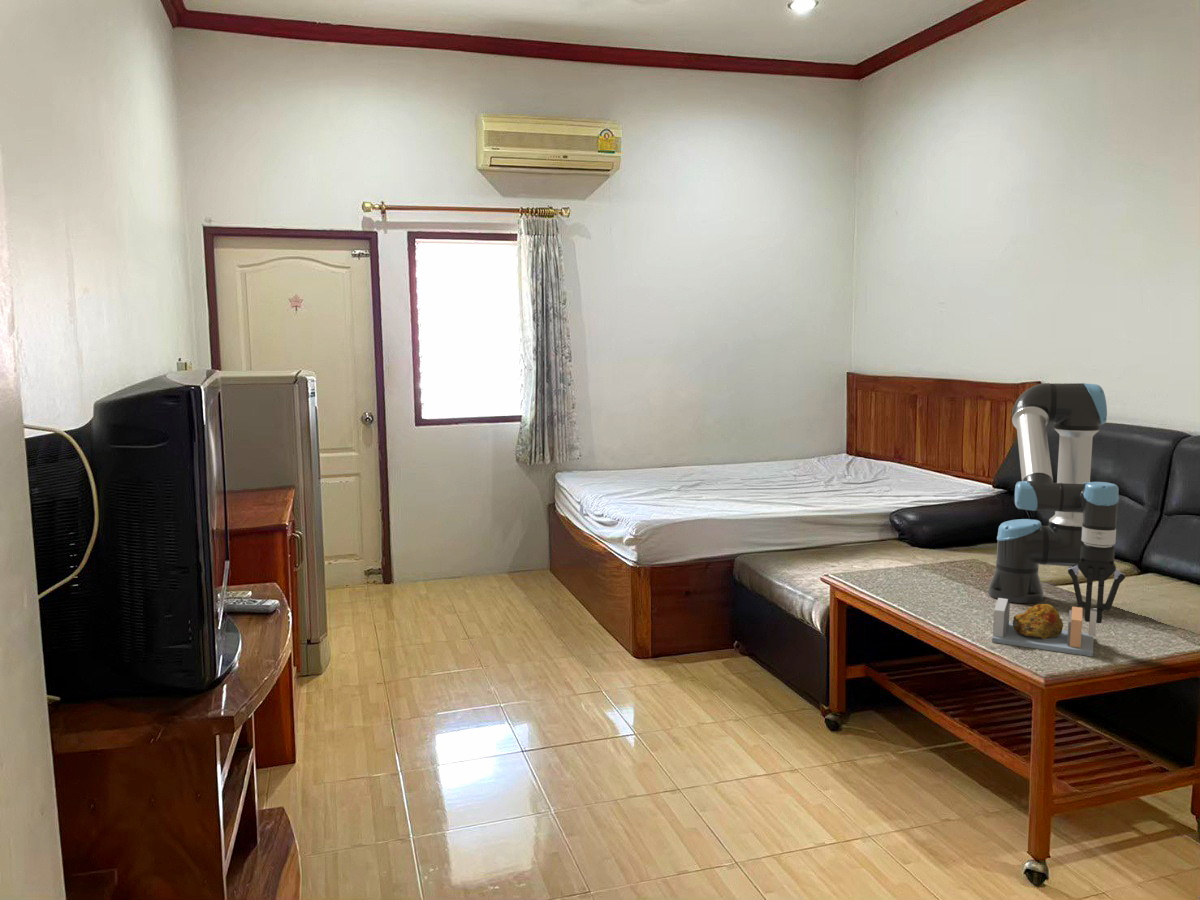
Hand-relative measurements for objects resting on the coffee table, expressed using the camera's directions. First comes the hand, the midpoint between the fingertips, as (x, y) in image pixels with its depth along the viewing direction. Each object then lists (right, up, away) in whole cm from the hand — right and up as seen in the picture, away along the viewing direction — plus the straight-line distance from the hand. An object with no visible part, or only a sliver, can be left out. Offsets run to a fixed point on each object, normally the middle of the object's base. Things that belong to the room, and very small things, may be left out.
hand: (1092, 634), depth 228 cm
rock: (-10, -2, +7) cm, 13 cm away
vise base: (-10, -3, +6) cm, 12 cm away
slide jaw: (-4, -2, +2) cm, 4 cm away
